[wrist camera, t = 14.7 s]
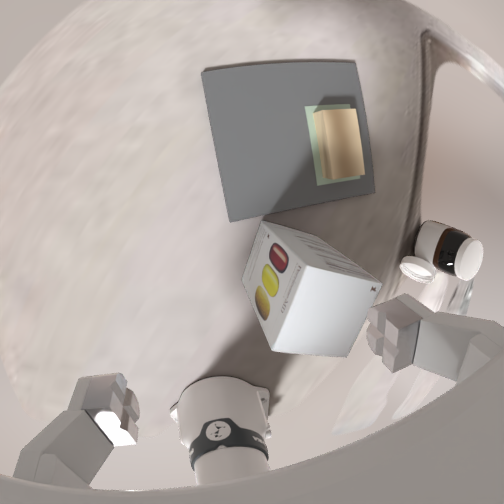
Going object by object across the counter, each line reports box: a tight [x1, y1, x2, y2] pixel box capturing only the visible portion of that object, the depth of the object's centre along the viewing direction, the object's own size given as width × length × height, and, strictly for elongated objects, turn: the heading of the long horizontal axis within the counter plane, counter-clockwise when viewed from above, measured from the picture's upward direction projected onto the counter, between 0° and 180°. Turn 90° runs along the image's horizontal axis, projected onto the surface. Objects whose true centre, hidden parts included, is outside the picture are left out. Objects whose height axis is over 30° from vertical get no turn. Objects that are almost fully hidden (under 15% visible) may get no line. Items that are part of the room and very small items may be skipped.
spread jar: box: [400, 221, 483, 283], centre depth 42 cm, size 12×11×12 cm
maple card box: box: [313, 109, 365, 180], centre depth 36 cm, size 5×9×3 cm, turn 10°
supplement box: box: [242, 221, 383, 357], centre depth 34 cm, size 10×9×17 cm
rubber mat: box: [201, 62, 375, 222], centre depth 37 cm, size 20×22×1 cm
